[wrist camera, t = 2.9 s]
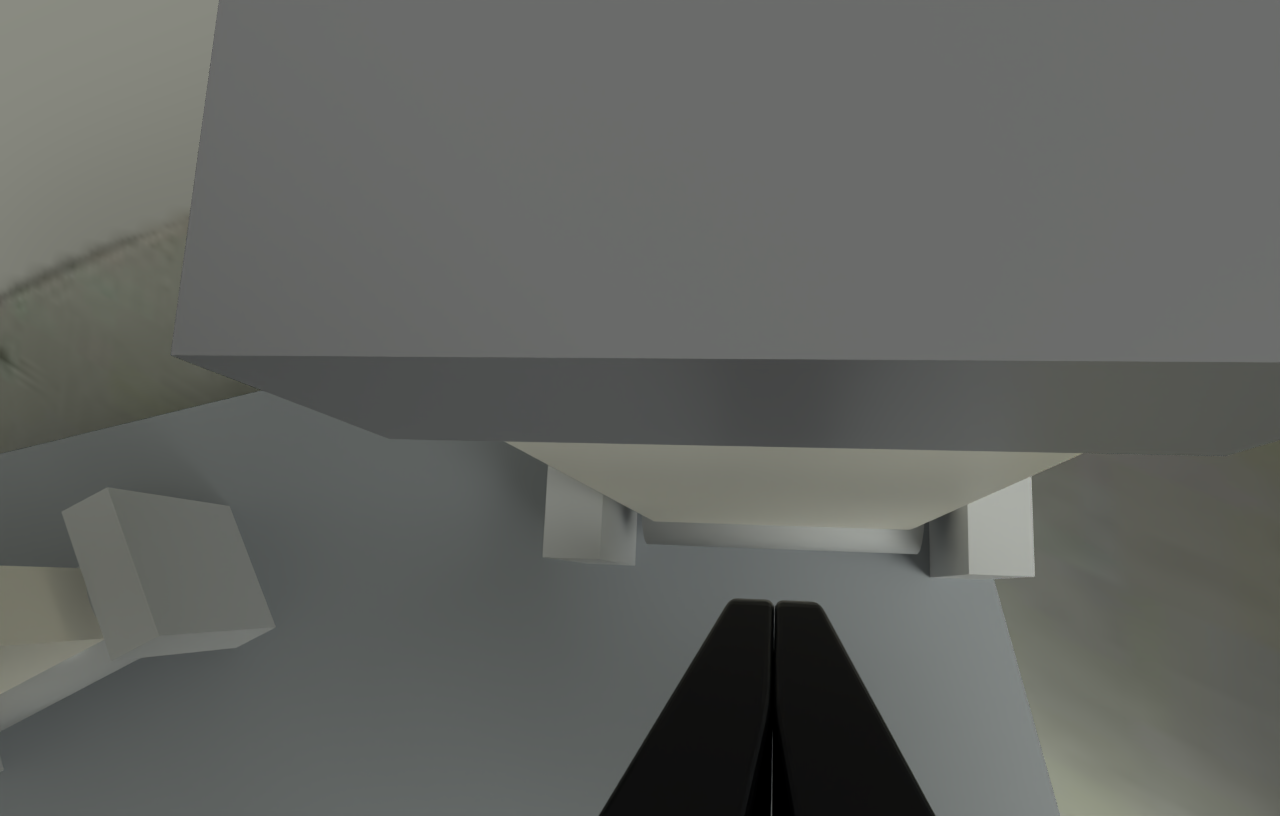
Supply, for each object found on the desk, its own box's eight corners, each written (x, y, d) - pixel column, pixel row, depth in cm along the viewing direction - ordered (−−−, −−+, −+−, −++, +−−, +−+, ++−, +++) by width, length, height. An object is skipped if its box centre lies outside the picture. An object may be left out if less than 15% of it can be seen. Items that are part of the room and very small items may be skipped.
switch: (909, 555, 15) (1536, 400, 2) (654, 547, 15) (166, 383, 3) (907, 441, 15) (1461, -184, 3) (659, 437, 16) (231, -100, 3)
